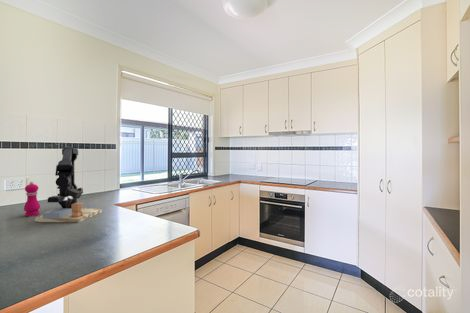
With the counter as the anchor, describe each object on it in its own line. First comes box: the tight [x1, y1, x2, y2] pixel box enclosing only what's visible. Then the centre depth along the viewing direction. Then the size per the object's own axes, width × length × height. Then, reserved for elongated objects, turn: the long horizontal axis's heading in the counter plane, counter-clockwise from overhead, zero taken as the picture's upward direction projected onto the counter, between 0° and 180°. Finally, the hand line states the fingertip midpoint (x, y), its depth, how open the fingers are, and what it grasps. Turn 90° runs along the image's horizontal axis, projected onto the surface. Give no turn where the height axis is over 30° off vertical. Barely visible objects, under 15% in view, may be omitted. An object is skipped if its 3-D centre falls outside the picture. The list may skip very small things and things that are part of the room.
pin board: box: [34, 208, 103, 223], centre depth 133 cm, size 20×24×2 cm
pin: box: [71, 202, 83, 217], centre depth 127 cm, size 4×4×9 cm
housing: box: [42, 207, 72, 218], centre depth 127 cm, size 9×9×3 cm
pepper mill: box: [23, 181, 41, 217], centre depth 135 cm, size 7×7×20 cm
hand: (65, 211), depth 133 cm, fingers closed
